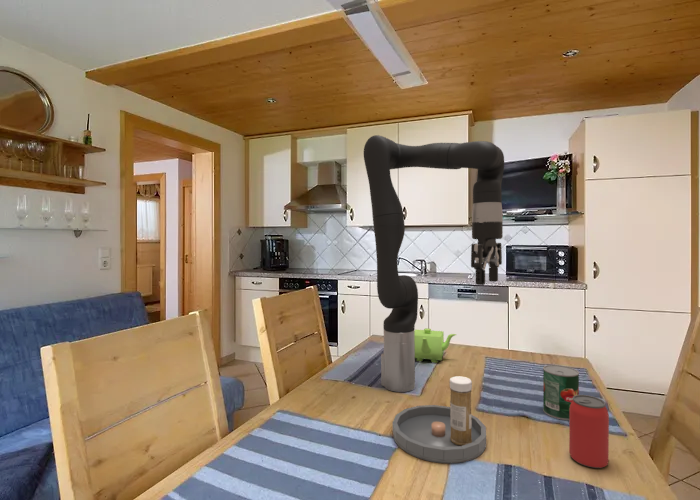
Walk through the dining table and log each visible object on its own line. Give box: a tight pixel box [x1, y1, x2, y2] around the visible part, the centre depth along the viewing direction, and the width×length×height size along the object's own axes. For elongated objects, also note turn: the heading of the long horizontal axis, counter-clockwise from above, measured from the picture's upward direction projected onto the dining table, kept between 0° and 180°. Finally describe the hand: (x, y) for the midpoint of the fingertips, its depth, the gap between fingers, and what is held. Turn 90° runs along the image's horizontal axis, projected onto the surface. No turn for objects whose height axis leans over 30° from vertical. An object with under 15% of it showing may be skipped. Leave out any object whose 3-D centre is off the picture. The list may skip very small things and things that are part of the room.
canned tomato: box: [542, 364, 580, 421], centre depth 96 cm, size 8×8×11 cm
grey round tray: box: [392, 404, 487, 464], centre depth 85 cm, size 20×20×3 cm
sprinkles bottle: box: [449, 375, 473, 446], centre depth 82 cm, size 5×5×13 cm
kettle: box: [414, 328, 457, 364], centre depth 140 cm, size 15×14×11 cm
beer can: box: [568, 394, 610, 469], centre depth 76 cm, size 7×7×12 cm
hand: (487, 283), depth 100 cm, fingers open, 8 cm apart
